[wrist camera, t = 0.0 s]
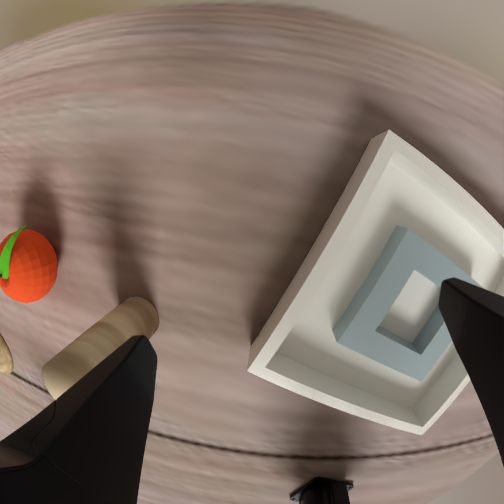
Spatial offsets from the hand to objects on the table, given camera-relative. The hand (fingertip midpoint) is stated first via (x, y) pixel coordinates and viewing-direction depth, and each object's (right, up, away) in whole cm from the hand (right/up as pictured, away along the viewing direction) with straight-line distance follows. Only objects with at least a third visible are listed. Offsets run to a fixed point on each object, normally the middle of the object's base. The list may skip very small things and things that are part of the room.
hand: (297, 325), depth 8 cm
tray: (+12, -2, +15) cm, 20 cm away
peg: (-12, -4, +17) cm, 21 cm away
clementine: (-22, +2, +17) cm, 28 cm away
